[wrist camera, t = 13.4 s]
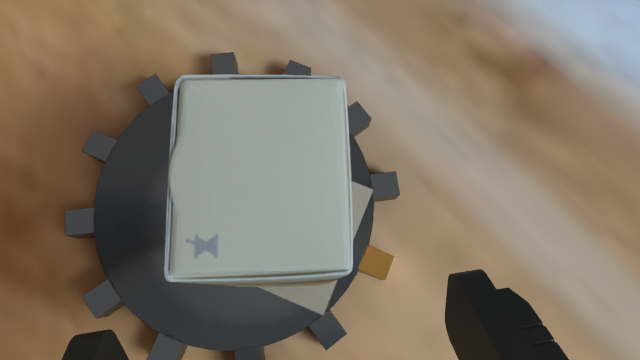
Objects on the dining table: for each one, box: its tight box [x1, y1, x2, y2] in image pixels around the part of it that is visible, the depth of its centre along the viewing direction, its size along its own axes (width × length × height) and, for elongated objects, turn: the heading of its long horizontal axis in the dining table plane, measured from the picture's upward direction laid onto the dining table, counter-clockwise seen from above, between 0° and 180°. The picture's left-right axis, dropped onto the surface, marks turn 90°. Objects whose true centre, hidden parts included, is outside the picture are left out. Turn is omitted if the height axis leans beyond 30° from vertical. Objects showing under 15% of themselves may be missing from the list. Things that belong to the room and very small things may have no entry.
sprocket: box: [65, 52, 400, 360], centre depth 22 cm, size 16×16×1 cm
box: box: [164, 74, 353, 287], centre depth 15 cm, size 5×4×11 cm
